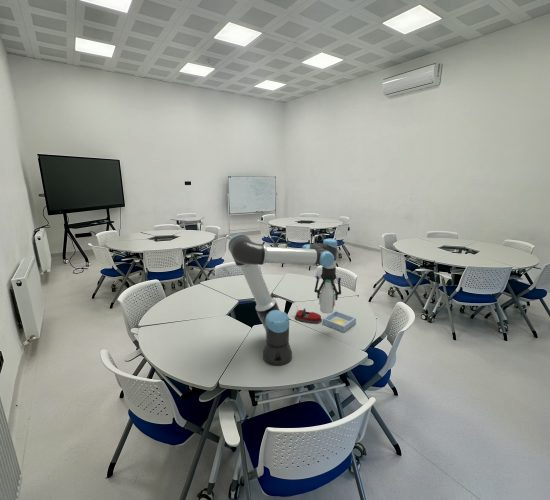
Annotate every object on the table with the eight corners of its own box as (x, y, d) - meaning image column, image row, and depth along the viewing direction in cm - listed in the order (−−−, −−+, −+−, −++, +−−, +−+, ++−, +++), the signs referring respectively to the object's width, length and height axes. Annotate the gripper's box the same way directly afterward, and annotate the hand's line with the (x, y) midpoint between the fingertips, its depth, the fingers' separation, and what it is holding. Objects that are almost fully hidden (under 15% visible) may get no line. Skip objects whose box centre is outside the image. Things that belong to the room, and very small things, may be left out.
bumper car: (319, 326, 177) (319, 311, 175) (289, 320, 185) (289, 305, 182) (323, 318, 186) (323, 304, 183) (294, 313, 193) (294, 299, 191)
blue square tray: (343, 332, 169) (343, 326, 168) (322, 324, 179) (322, 318, 178) (355, 323, 179) (356, 317, 178) (335, 315, 189) (335, 310, 188)
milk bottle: (330, 315, 159) (332, 281, 154) (317, 311, 163) (319, 279, 158) (335, 310, 166) (337, 277, 161) (323, 306, 170) (324, 275, 165)
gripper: (347, 265, 159) (345, 303, 165) (311, 263, 164) (309, 299, 169) (348, 270, 152) (345, 309, 158) (309, 267, 156) (308, 305, 162)
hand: (327, 304), depth 164 cm, fingers closed on milk bottle, 8 cm apart
